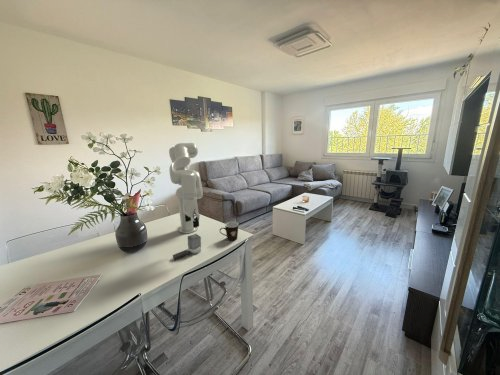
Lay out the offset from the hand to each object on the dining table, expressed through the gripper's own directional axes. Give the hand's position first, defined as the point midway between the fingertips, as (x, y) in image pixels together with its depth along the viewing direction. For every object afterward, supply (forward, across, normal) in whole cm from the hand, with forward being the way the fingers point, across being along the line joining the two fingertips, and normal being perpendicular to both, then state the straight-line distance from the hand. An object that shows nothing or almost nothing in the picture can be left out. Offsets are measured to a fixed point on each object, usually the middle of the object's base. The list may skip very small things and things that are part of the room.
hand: (192, 223), depth 116 cm
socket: (+14, +1, 0) cm, 14 cm away
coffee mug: (+17, +3, +24) cm, 29 cm away
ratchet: (+17, +1, -5) cm, 18 cm away
